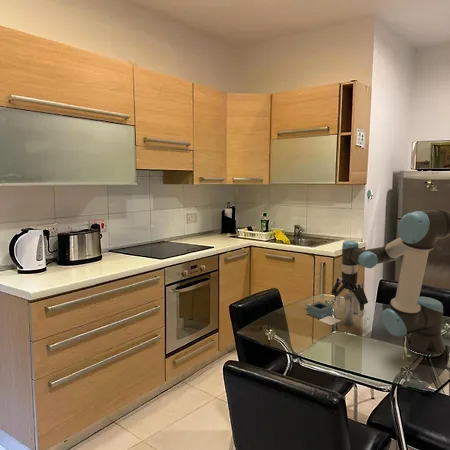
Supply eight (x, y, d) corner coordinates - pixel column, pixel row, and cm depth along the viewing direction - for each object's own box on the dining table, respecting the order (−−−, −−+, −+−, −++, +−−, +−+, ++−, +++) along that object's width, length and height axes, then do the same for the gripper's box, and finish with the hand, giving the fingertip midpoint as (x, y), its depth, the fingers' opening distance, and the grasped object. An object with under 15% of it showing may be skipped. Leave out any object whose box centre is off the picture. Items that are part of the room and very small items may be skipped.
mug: (365, 312, 219) (366, 293, 217) (351, 314, 218) (351, 295, 215) (354, 304, 231) (354, 285, 229) (340, 306, 229) (340, 287, 227)
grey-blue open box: (332, 314, 219) (332, 306, 218) (321, 319, 214) (321, 311, 213) (312, 306, 230) (312, 298, 230) (300, 311, 225) (300, 303, 224)
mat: (340, 321, 210) (340, 320, 210) (330, 325, 206) (330, 325, 206) (328, 316, 217) (328, 315, 217) (318, 320, 212) (318, 319, 212)
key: (355, 322, 208) (356, 294, 205) (348, 326, 204) (348, 297, 201) (349, 320, 211) (349, 291, 208) (341, 323, 208) (341, 295, 204)
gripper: (376, 276, 195) (374, 317, 199) (334, 264, 214) (333, 302, 219) (367, 279, 190) (365, 321, 195) (324, 267, 210) (324, 306, 214)
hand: (348, 311), depth 207 cm, fingers open, 13 cm apart
